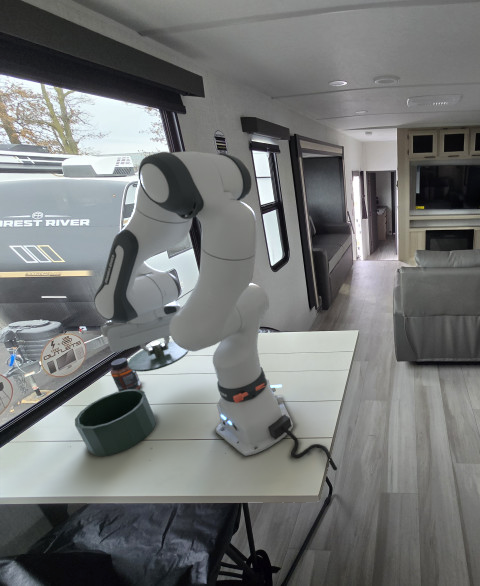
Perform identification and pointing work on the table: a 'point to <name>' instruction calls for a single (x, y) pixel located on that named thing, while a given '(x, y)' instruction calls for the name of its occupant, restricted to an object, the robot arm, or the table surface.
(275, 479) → the table surface
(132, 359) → the tin lid
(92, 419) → the waste tin
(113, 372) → the supplement bottle
